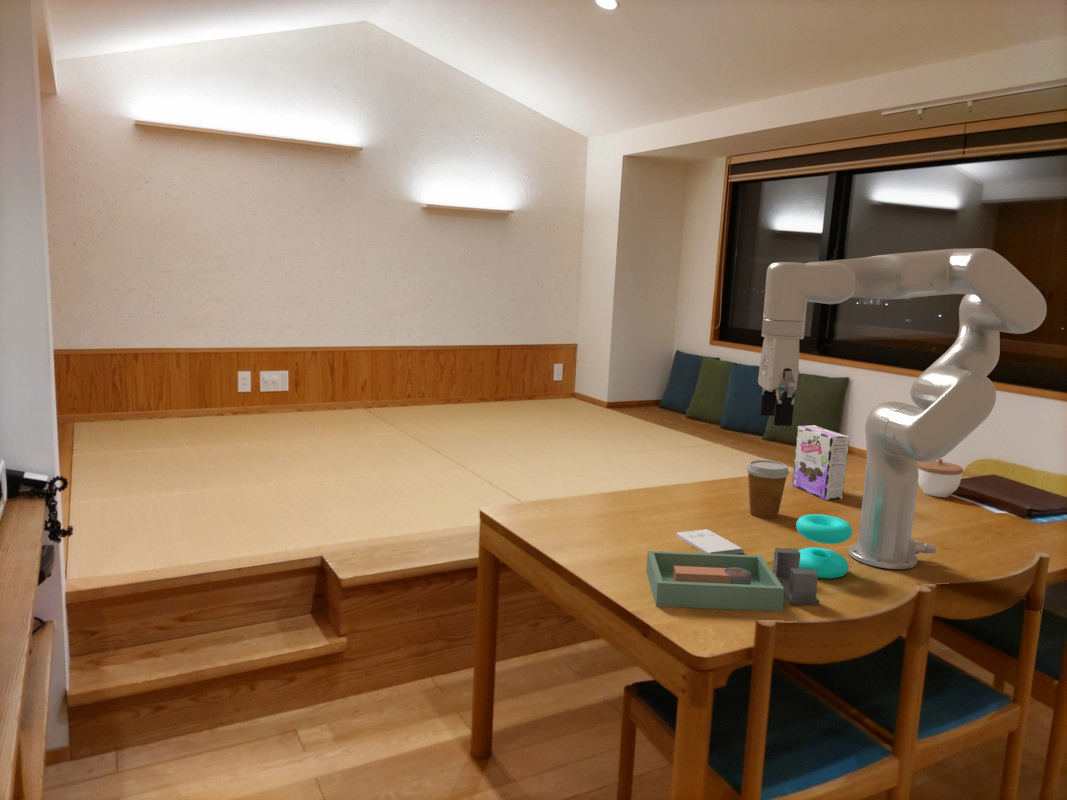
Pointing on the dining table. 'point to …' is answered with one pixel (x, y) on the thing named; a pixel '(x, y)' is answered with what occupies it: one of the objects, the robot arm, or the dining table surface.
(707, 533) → the external hard drive
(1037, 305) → the robot arm
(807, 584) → the bracket
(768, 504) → the disposable coffee cup
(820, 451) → the candy box
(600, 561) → the dining table surface
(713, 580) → the strut
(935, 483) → the lidded jar
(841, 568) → the donuts
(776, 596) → the tray
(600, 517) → the dining table surface
